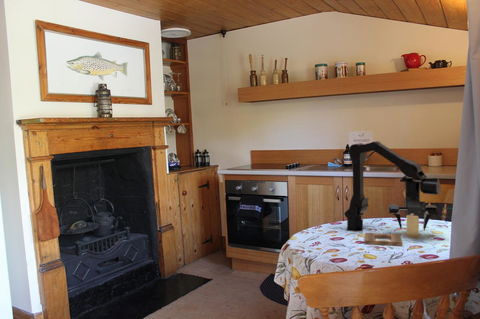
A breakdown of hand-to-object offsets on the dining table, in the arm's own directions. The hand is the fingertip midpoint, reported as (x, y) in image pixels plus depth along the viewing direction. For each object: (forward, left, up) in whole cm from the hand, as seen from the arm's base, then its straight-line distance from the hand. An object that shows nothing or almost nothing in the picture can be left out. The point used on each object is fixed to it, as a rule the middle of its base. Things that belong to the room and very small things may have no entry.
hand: (412, 229), depth 172 cm
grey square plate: (0, 0, -4) cm, 4 cm away
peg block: (0, 0, -2) cm, 2 cm away
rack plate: (-12, -11, -4) cm, 17 cm away
